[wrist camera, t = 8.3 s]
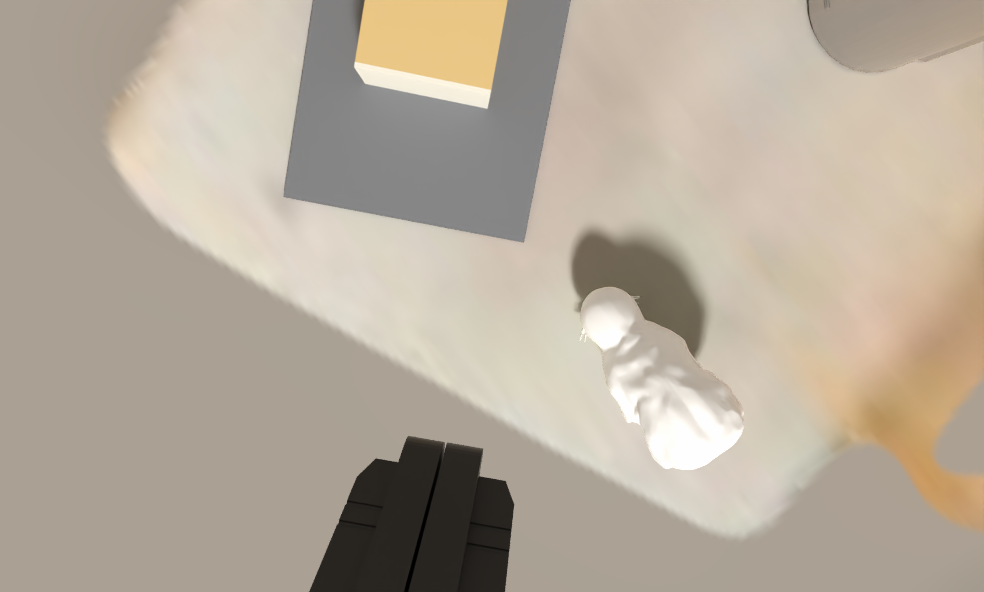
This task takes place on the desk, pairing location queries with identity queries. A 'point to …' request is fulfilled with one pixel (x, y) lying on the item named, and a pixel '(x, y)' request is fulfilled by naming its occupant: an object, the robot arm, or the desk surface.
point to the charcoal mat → (425, 129)
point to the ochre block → (431, 47)
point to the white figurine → (661, 383)
